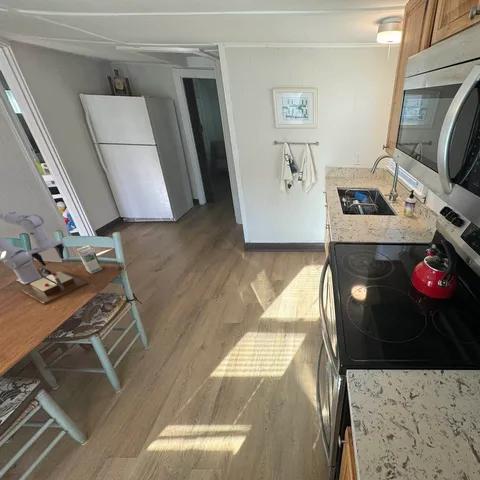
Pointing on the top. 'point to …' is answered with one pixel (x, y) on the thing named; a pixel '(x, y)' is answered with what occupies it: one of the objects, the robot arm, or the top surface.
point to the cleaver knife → (48, 274)
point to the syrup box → (89, 259)
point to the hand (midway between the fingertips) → (53, 261)
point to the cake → (52, 284)
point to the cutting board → (53, 296)
